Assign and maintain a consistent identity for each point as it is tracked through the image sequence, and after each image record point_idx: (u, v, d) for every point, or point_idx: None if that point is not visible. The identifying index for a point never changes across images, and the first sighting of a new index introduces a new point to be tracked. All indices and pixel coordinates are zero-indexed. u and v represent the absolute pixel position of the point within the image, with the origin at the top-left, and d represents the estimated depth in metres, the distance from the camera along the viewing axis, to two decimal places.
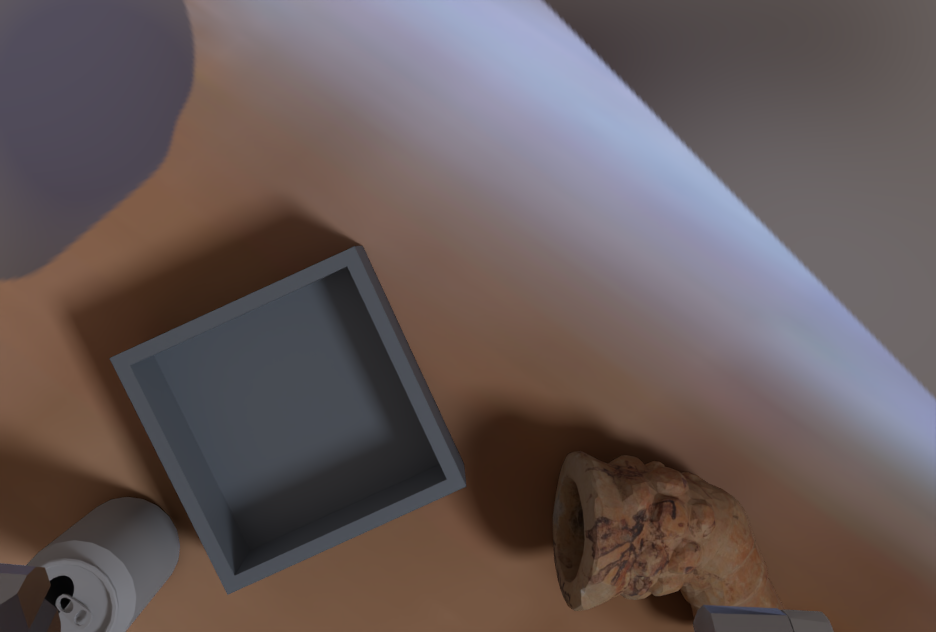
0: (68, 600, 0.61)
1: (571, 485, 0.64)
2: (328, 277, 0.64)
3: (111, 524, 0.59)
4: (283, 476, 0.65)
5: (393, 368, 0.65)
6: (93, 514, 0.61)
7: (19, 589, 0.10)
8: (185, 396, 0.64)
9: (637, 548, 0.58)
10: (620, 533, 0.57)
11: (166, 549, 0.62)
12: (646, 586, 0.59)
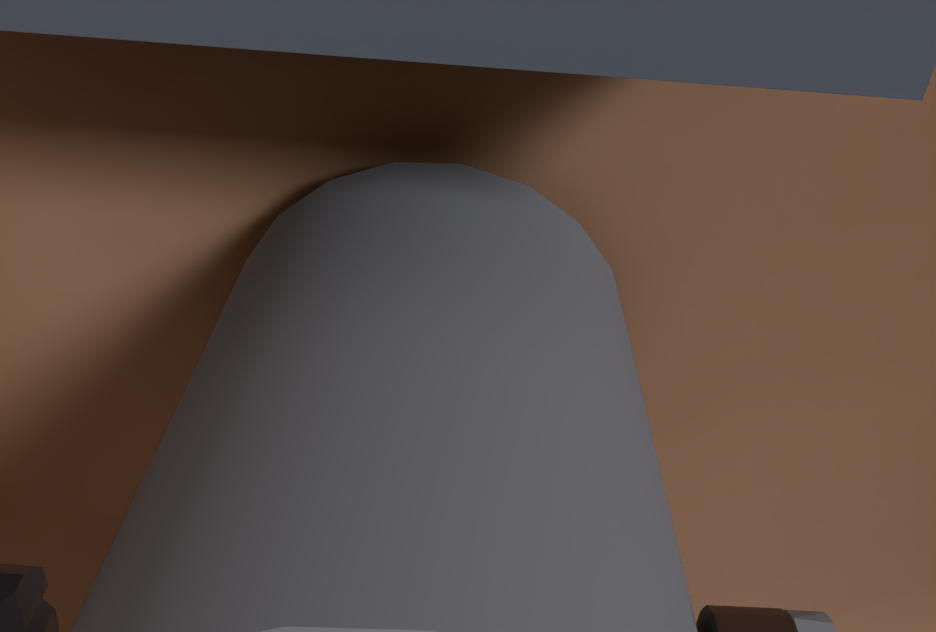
0: None
1: None
2: None
3: (176, 435, 0.11)
4: None
5: None
6: None
7: (16, 589, 0.10)
8: None
9: None
10: None
11: (484, 252, 0.13)
12: None
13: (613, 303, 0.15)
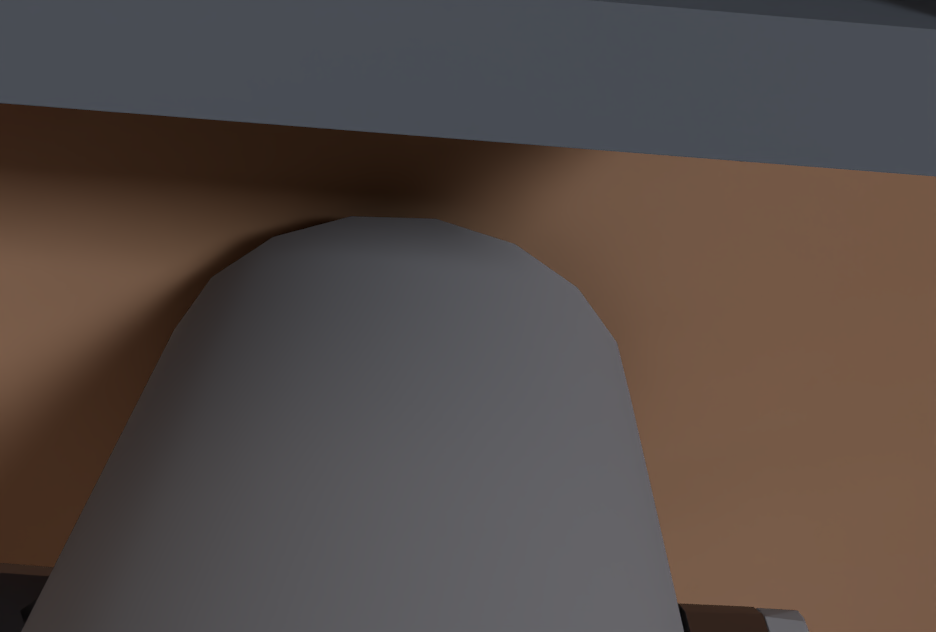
0: None
1: None
2: None
3: (42, 617, 0.08)
4: None
5: None
6: None
7: None
8: None
9: None
10: None
11: (459, 346, 0.10)
12: None
13: (620, 392, 0.12)
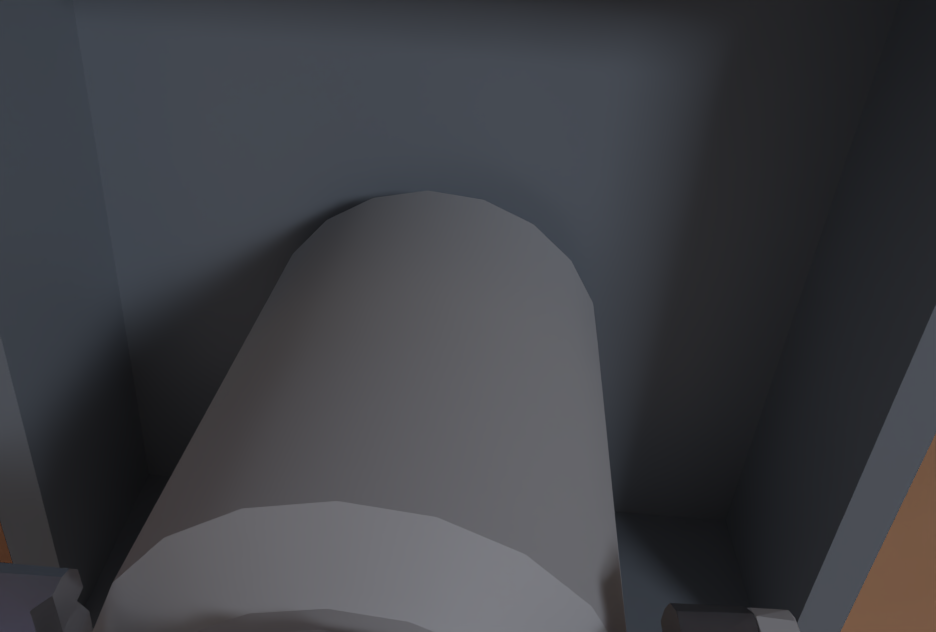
0: None
1: None
2: None
3: (242, 377, 0.14)
4: (608, 375, 0.22)
5: None
6: None
7: (54, 591, 0.10)
8: None
9: None
10: None
11: (494, 271, 0.16)
12: None
13: (590, 328, 0.18)
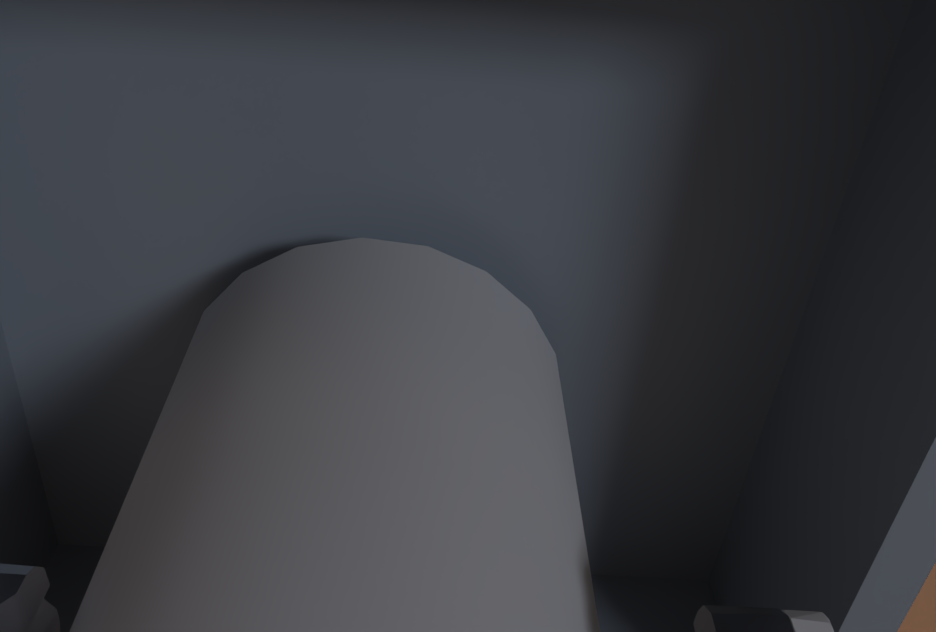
0: None
1: None
2: None
3: (143, 519, 0.11)
4: (576, 431, 0.19)
5: None
6: None
7: (18, 589, 0.10)
8: None
9: None
10: None
11: (447, 350, 0.13)
12: None
13: (556, 394, 0.16)
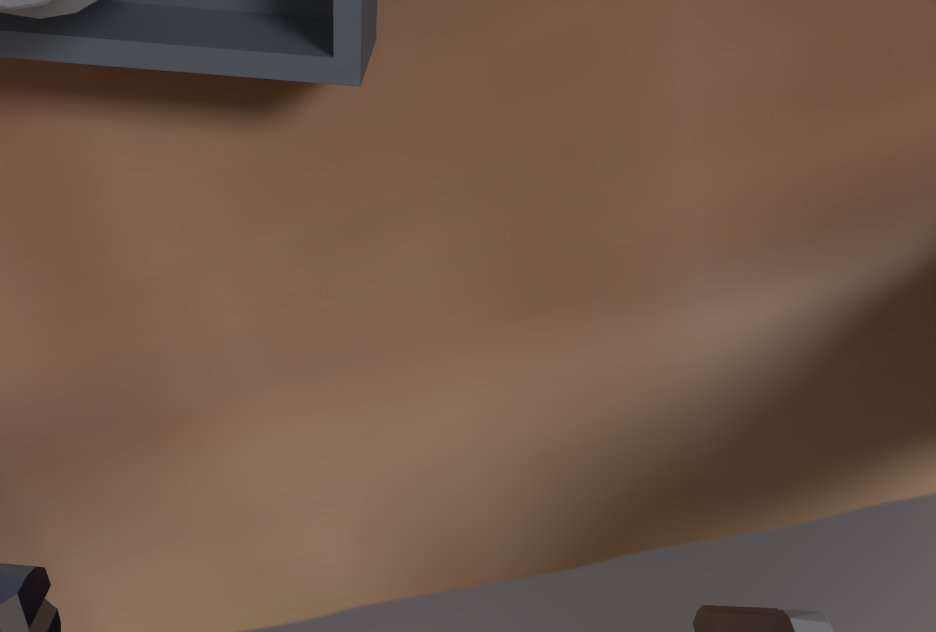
0: None
1: None
2: None
3: None
4: None
5: None
6: None
7: (19, 589, 0.10)
8: None
9: None
10: None
11: None
12: None
13: None
